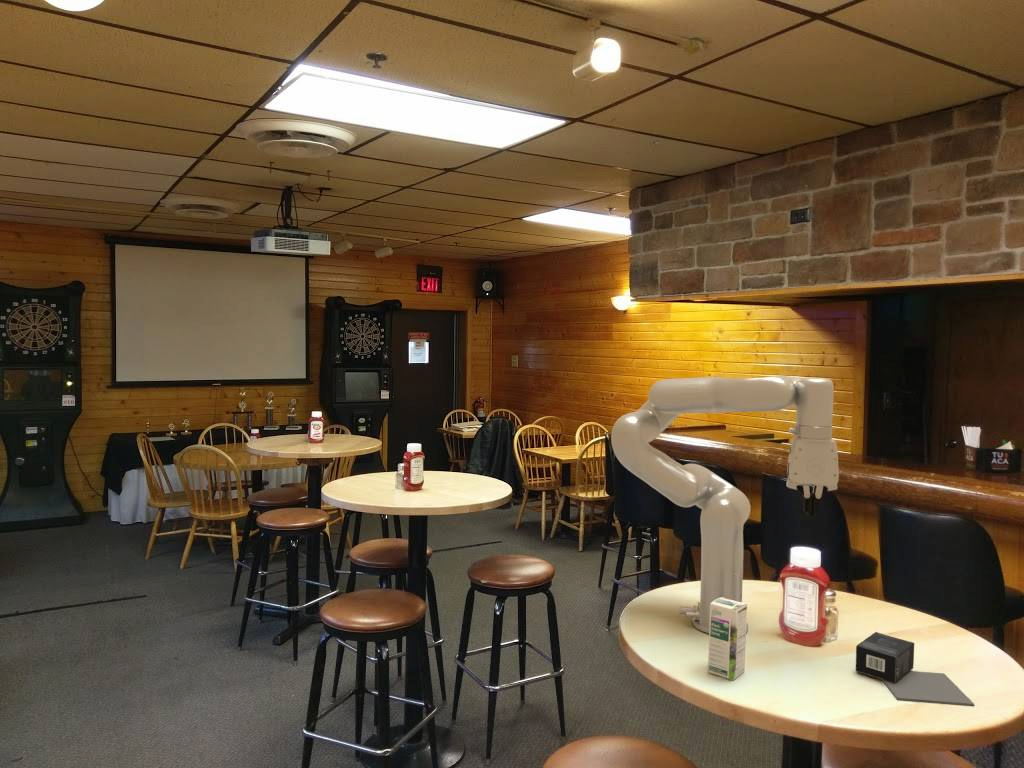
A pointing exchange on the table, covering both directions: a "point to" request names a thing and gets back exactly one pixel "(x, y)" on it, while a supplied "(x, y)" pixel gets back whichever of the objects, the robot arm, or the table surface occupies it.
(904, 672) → the box
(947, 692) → the mat
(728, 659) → the syrup box
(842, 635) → the table surface
